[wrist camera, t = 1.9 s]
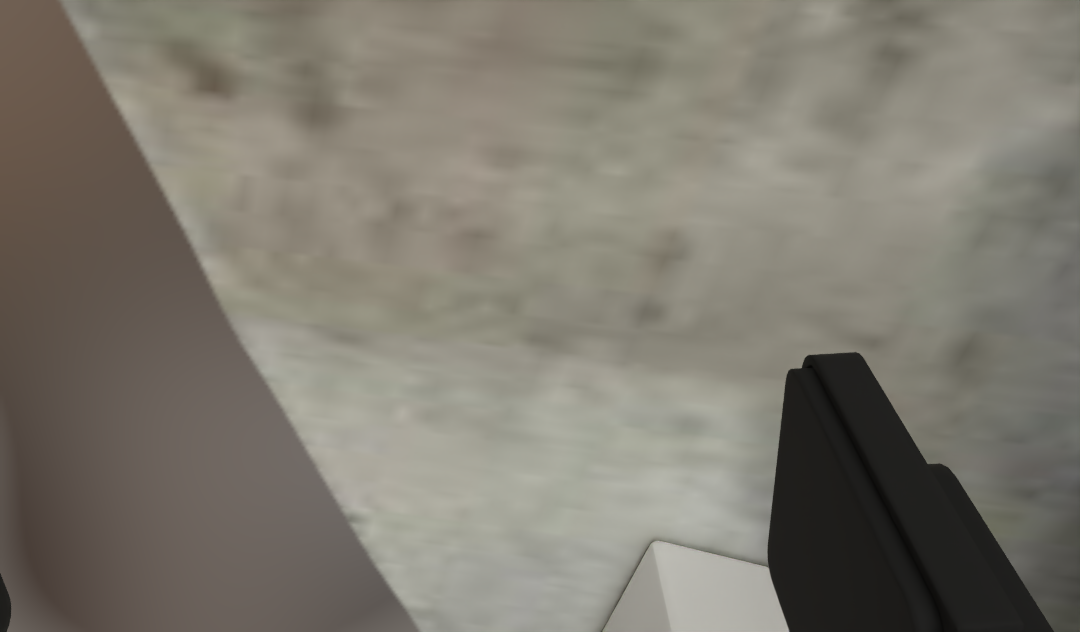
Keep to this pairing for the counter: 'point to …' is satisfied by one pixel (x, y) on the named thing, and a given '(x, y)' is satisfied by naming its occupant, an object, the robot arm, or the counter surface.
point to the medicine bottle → (697, 594)
